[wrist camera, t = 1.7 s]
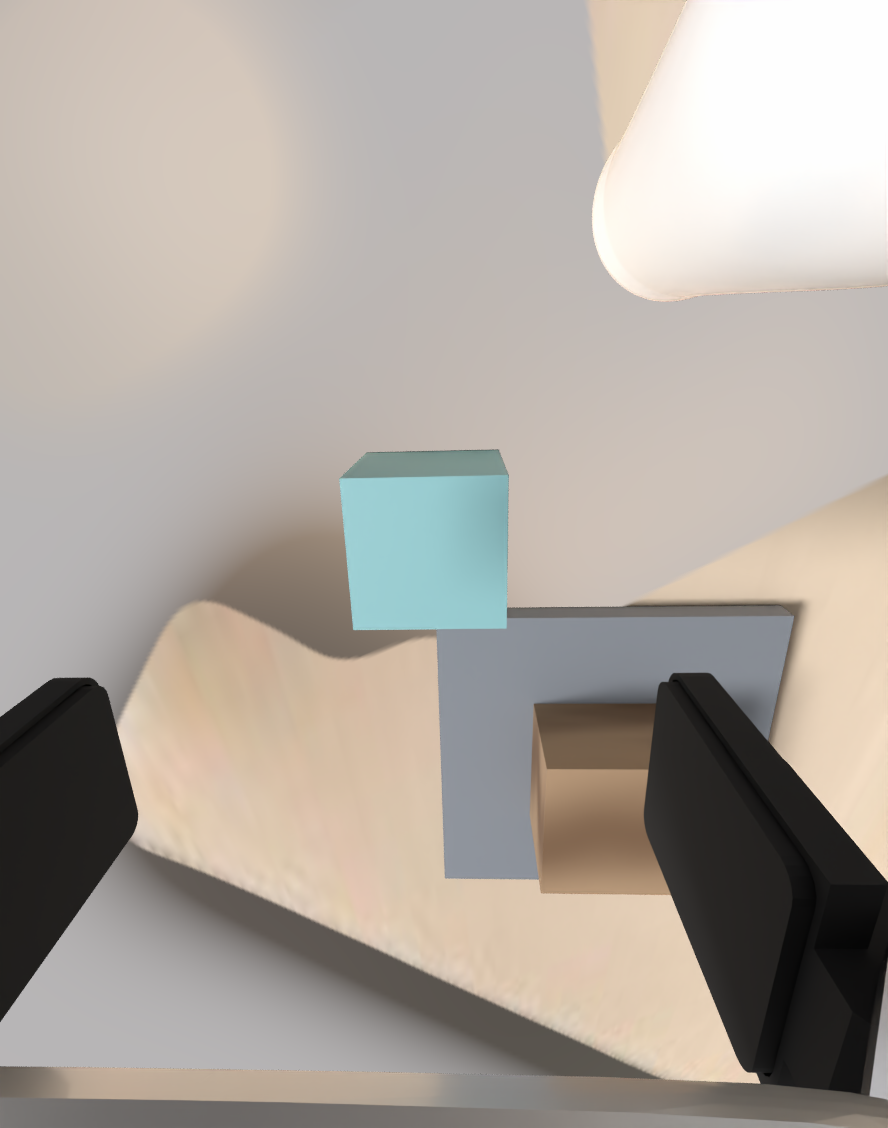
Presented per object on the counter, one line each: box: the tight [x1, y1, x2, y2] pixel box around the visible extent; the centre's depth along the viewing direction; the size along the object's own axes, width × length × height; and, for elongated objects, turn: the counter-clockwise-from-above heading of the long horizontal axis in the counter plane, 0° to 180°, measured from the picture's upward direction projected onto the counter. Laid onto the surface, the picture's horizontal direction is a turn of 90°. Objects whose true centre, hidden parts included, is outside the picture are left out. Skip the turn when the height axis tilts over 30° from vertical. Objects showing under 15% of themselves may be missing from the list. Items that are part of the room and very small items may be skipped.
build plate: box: [437, 605, 794, 879], centre depth 25 cm, size 14×14×1 cm
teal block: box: [339, 449, 509, 630], centre depth 20 cm, size 5×5×5 cm
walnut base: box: [530, 703, 671, 895], centre depth 22 cm, size 6×6×4 cm
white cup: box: [592, 0, 888, 302], centre depth 11 cm, size 7×7×15 cm
